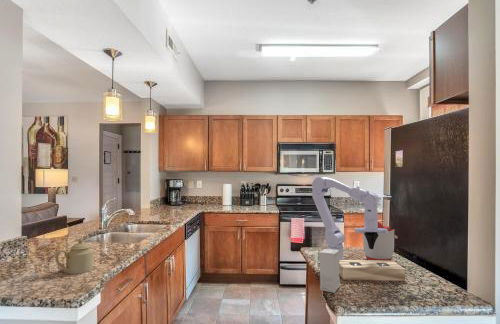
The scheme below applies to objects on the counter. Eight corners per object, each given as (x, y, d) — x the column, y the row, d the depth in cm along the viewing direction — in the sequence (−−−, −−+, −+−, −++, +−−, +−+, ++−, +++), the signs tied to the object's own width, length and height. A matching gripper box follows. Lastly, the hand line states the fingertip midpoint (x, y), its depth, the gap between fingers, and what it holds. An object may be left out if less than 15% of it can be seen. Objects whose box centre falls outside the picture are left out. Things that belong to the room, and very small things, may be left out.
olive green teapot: (75, 278, 135) (75, 242, 136) (53, 276, 137) (53, 241, 138) (98, 267, 150) (98, 235, 150) (78, 266, 152) (78, 234, 152)
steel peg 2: (376, 273, 142) (376, 263, 142) (385, 273, 142) (385, 263, 142) (380, 276, 138) (379, 265, 138) (389, 276, 138) (389, 266, 138)
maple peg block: (336, 270, 147) (336, 259, 147) (392, 271, 146) (392, 260, 146) (343, 279, 135) (343, 268, 135) (405, 280, 134) (404, 268, 134)
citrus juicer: (404, 265, 156) (403, 224, 156) (368, 264, 156) (368, 224, 157) (390, 256, 172) (390, 219, 172) (358, 256, 172) (358, 219, 172)
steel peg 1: (349, 273, 143) (349, 262, 143) (358, 273, 142) (358, 263, 143) (352, 276, 139) (352, 265, 139) (361, 276, 138) (361, 265, 139)
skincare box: (334, 293, 120) (334, 254, 120) (319, 290, 123) (319, 252, 123) (340, 286, 127) (340, 249, 127) (325, 283, 130) (325, 247, 130)
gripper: (358, 220, 143) (358, 250, 143) (390, 220, 143) (390, 251, 142) (353, 218, 150) (353, 246, 150) (384, 218, 150) (384, 247, 149)
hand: (371, 248), depth 147 cm, fingers closed
